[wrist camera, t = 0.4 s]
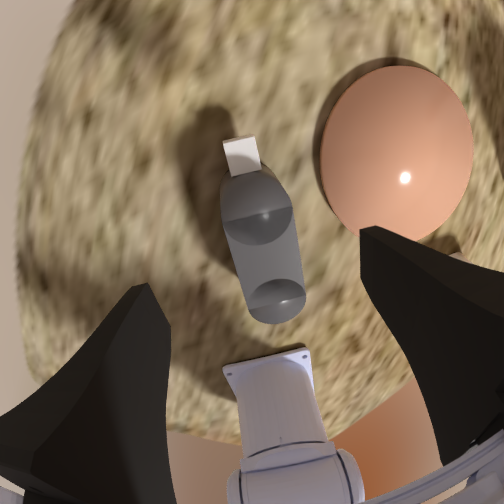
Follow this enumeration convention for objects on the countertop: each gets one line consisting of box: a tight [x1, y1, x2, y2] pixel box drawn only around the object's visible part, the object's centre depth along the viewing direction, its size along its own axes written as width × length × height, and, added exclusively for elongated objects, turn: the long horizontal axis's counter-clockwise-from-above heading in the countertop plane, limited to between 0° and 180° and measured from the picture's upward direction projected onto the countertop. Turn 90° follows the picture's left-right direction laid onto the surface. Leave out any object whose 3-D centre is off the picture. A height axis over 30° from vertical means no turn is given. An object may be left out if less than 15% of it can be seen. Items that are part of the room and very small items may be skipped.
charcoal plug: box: [220, 134, 306, 324], centre depth 18 cm, size 11×4×4 cm, turn 12°
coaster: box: [319, 66, 473, 241], centre depth 18 cm, size 13×13×1 cm
